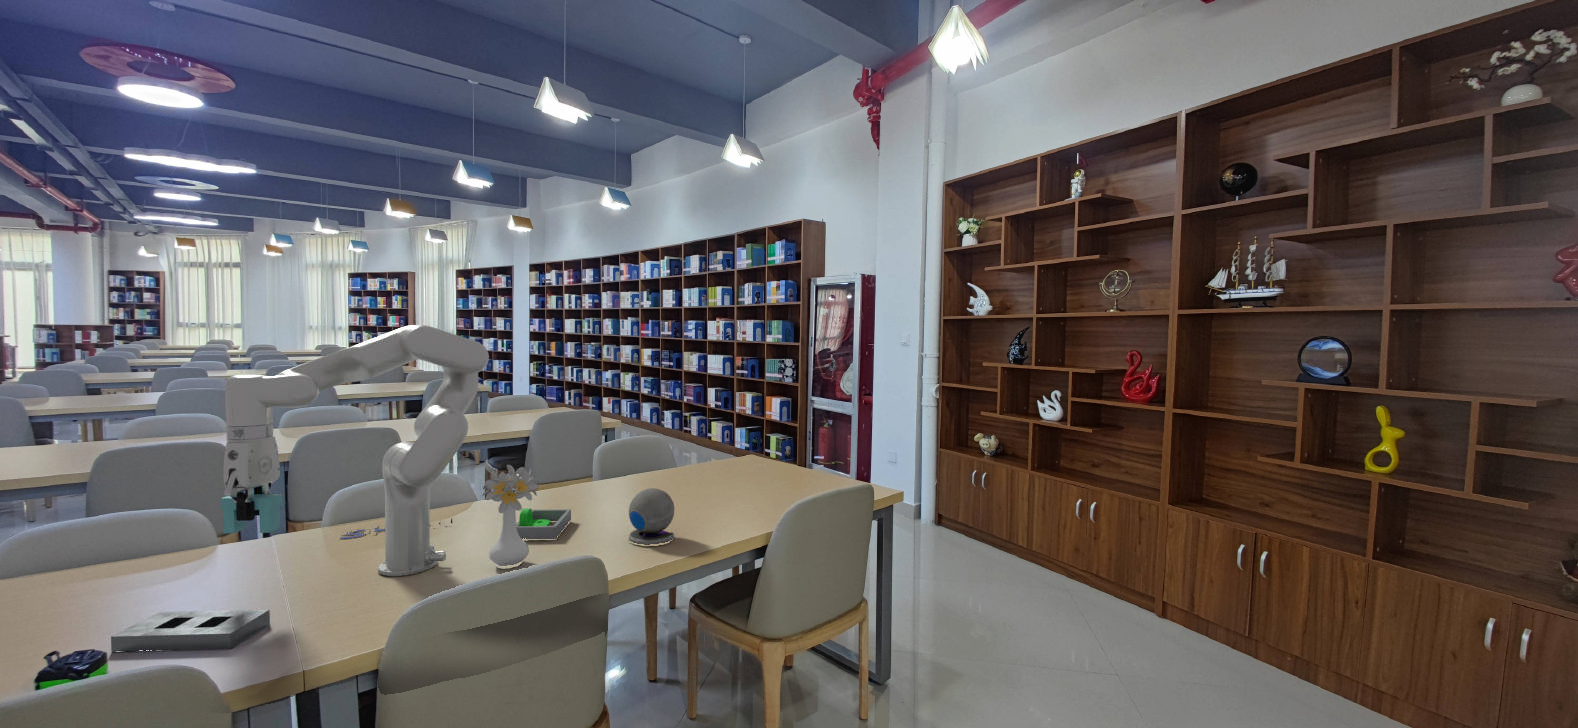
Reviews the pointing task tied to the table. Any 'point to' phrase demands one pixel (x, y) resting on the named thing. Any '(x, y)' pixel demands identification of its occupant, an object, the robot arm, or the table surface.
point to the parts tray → (545, 531)
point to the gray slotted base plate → (191, 630)
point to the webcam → (651, 517)
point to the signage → (359, 533)
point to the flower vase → (509, 513)
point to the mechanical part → (527, 519)
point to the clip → (262, 502)
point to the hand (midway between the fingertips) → (252, 516)
